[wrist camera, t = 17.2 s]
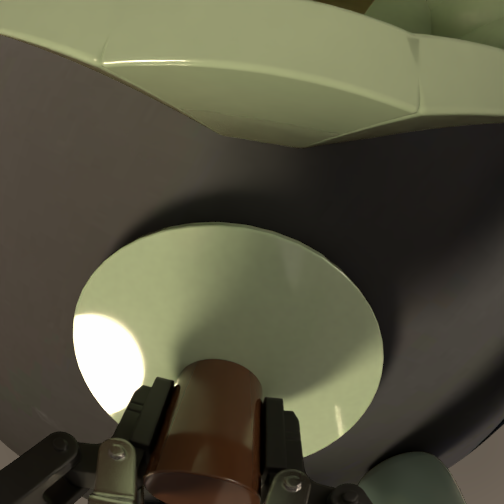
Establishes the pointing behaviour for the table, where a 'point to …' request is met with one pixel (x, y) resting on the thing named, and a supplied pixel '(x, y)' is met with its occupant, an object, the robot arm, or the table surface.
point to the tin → (287, 61)
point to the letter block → (350, 4)
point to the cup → (411, 481)
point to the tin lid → (226, 349)
